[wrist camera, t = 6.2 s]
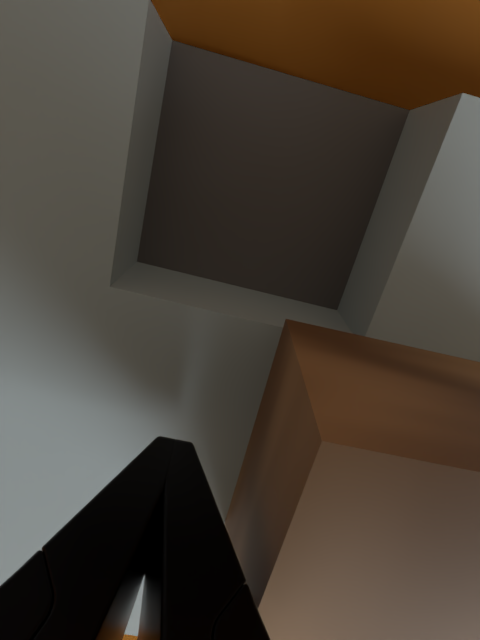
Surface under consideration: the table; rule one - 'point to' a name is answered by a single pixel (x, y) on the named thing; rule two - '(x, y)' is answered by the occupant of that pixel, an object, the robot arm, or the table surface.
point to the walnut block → (362, 492)
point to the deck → (197, 245)
